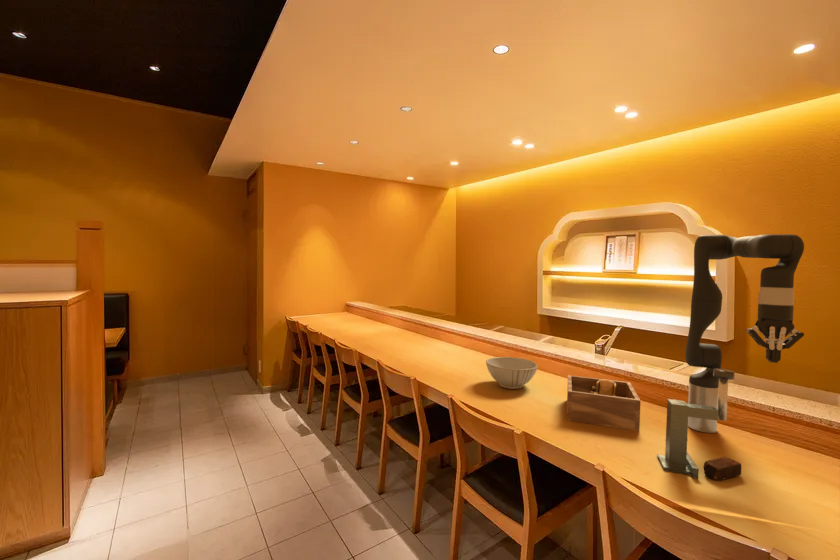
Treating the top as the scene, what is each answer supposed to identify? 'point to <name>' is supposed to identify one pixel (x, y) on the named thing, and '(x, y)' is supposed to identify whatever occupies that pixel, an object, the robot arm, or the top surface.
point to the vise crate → (603, 404)
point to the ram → (723, 390)
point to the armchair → (605, 388)
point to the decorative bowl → (511, 371)
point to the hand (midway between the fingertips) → (772, 362)
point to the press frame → (682, 436)
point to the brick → (722, 468)
